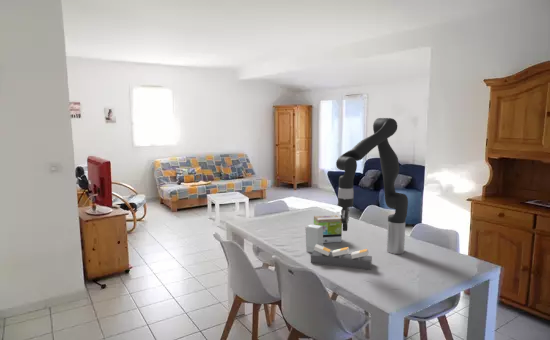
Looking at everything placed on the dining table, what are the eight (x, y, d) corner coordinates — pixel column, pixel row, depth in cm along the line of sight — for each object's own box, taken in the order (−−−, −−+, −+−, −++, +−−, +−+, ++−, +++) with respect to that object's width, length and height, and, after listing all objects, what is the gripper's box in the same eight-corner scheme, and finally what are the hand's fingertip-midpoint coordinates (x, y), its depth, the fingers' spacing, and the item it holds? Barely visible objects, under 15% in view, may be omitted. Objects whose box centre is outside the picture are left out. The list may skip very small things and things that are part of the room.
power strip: (314, 257, 203) (314, 247, 202) (371, 263, 193) (372, 253, 192) (310, 262, 195) (310, 252, 194) (370, 269, 185) (370, 259, 185)
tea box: (318, 244, 225) (318, 219, 223) (313, 239, 235) (313, 215, 233) (341, 242, 228) (342, 218, 226) (335, 237, 238) (336, 214, 236)
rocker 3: (353, 255, 192) (351, 251, 192) (368, 252, 189) (367, 248, 189) (352, 258, 188) (350, 254, 188) (367, 255, 185) (366, 251, 185)
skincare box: (323, 251, 212) (323, 225, 210) (318, 254, 207) (318, 228, 205) (310, 248, 216) (310, 223, 215) (305, 251, 212) (305, 225, 210)
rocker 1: (315, 247, 198) (316, 243, 197) (329, 253, 195) (331, 249, 195) (313, 249, 194) (314, 246, 193) (328, 256, 192) (329, 252, 191)
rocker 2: (334, 253, 195) (333, 249, 195) (349, 250, 192) (348, 246, 192) (333, 256, 191) (331, 252, 191) (348, 253, 188) (347, 249, 188)
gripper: (340, 193, 195) (339, 226, 197) (335, 198, 182) (335, 233, 184) (355, 194, 192) (354, 227, 194) (351, 199, 180) (350, 235, 182)
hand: (345, 230), depth 189 cm, fingers closed
